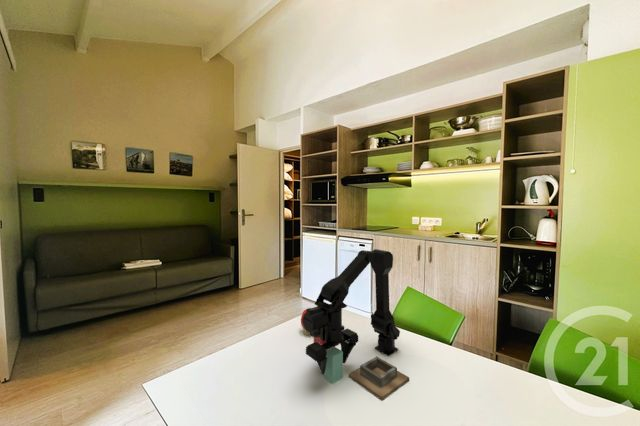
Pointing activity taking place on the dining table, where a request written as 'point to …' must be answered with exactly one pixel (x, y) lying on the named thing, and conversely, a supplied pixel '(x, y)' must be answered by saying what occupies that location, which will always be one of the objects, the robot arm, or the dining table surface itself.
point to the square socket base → (379, 377)
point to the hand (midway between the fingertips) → (333, 368)
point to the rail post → (334, 365)
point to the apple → (302, 321)
